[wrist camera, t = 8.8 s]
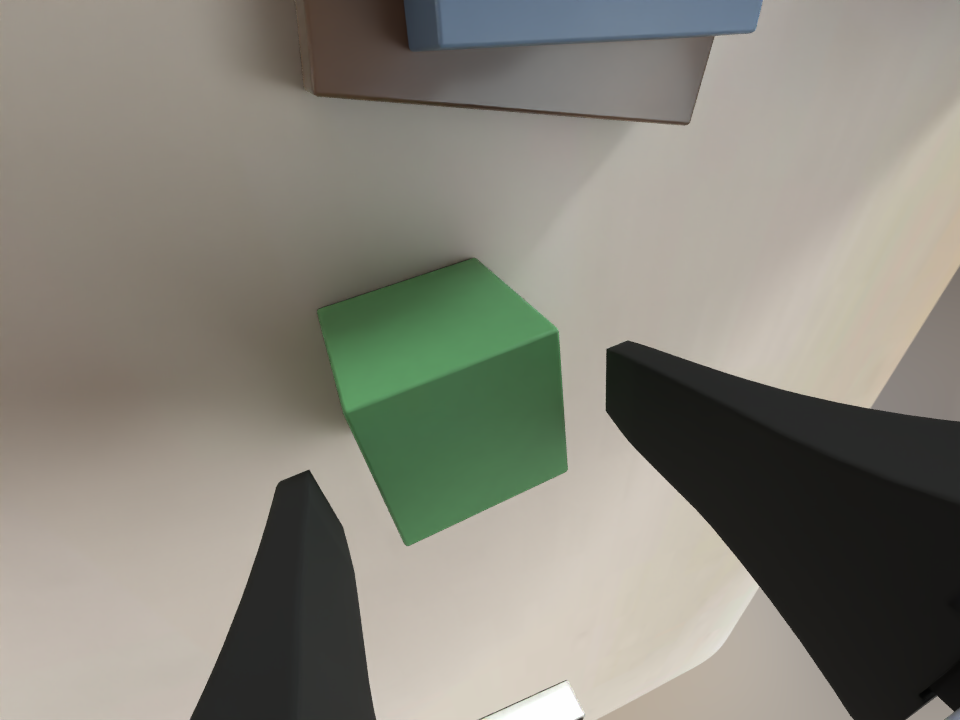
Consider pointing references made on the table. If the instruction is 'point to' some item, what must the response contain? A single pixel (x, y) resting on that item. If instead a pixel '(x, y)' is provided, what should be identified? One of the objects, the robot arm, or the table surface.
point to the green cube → (448, 393)
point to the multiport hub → (545, 706)
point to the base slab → (495, 69)
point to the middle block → (569, 21)
